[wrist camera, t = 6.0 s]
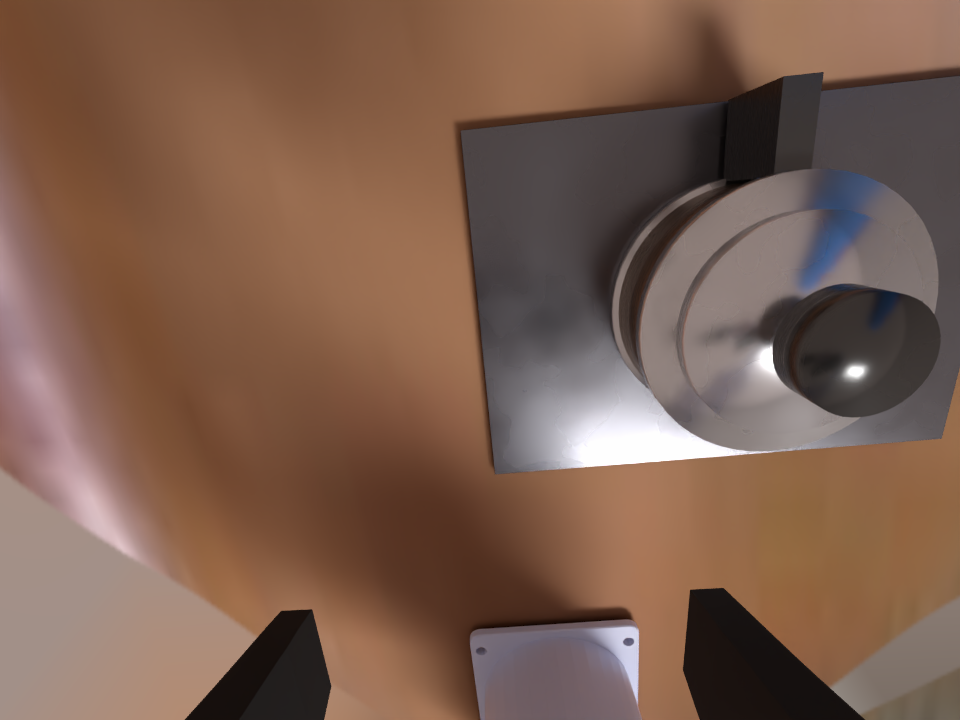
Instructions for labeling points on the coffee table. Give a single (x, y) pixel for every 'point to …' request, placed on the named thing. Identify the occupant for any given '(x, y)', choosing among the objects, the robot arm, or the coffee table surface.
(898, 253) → the silver lid with knob
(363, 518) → the coffee table surface
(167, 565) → the coffee table surface
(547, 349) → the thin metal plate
